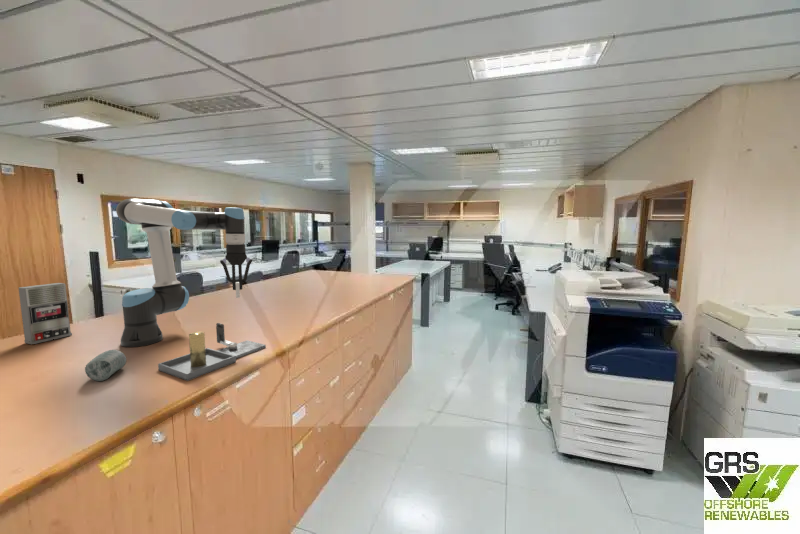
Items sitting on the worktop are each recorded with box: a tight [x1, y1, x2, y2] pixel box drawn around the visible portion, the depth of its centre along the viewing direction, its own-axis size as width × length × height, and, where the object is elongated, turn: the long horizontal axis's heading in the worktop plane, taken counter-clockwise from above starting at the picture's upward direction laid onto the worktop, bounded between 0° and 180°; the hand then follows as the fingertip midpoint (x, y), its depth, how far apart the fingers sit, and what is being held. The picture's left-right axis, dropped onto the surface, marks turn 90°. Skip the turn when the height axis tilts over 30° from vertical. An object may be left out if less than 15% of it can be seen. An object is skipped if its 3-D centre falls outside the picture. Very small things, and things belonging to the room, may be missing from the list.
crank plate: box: [217, 339, 267, 360], centre depth 142 cm, size 12×16×1 cm
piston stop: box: [188, 331, 206, 367], centre depth 126 cm, size 5×5×12 cm
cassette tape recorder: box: [18, 282, 73, 345], centre depth 152 cm, size 14×6×25 cm, turn 160°
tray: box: [157, 347, 237, 382], centre depth 126 cm, size 18×19×2 cm
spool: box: [84, 349, 127, 382], centre depth 118 cm, size 14×10×10 cm
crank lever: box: [215, 322, 237, 350], centre depth 144 cm, size 13×3×9 cm, turn 58°
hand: (237, 297), depth 148 cm, fingers closed
